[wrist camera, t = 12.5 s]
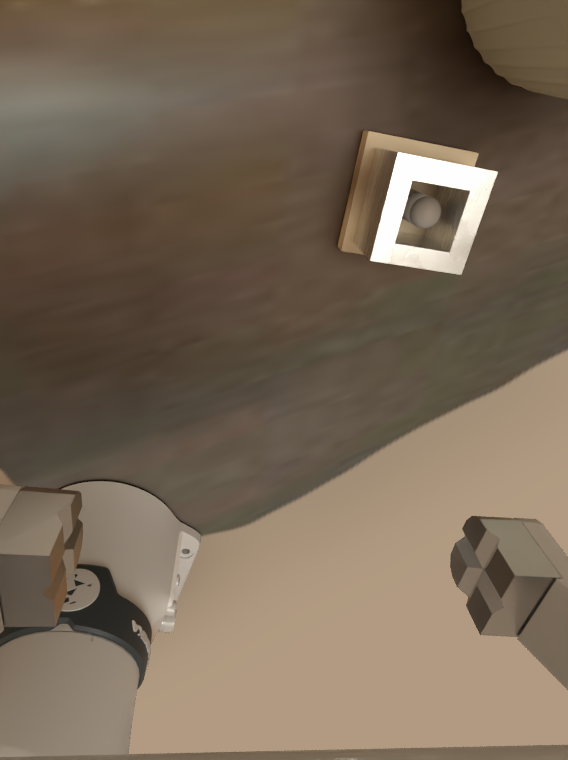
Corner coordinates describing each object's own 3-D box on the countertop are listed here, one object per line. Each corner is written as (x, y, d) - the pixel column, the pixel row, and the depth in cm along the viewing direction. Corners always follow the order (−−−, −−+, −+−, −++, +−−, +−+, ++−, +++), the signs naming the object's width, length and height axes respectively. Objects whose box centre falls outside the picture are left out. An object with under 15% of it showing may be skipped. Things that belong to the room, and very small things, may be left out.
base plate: (433, 261, 38) (466, 284, 32) (337, 246, 36) (354, 267, 31) (469, 151, 34) (512, 158, 29) (363, 130, 33) (387, 133, 27)
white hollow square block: (433, 255, 36) (461, 274, 32) (353, 242, 35) (370, 260, 31) (462, 164, 33) (497, 171, 29) (375, 147, 32) (398, 152, 28)
